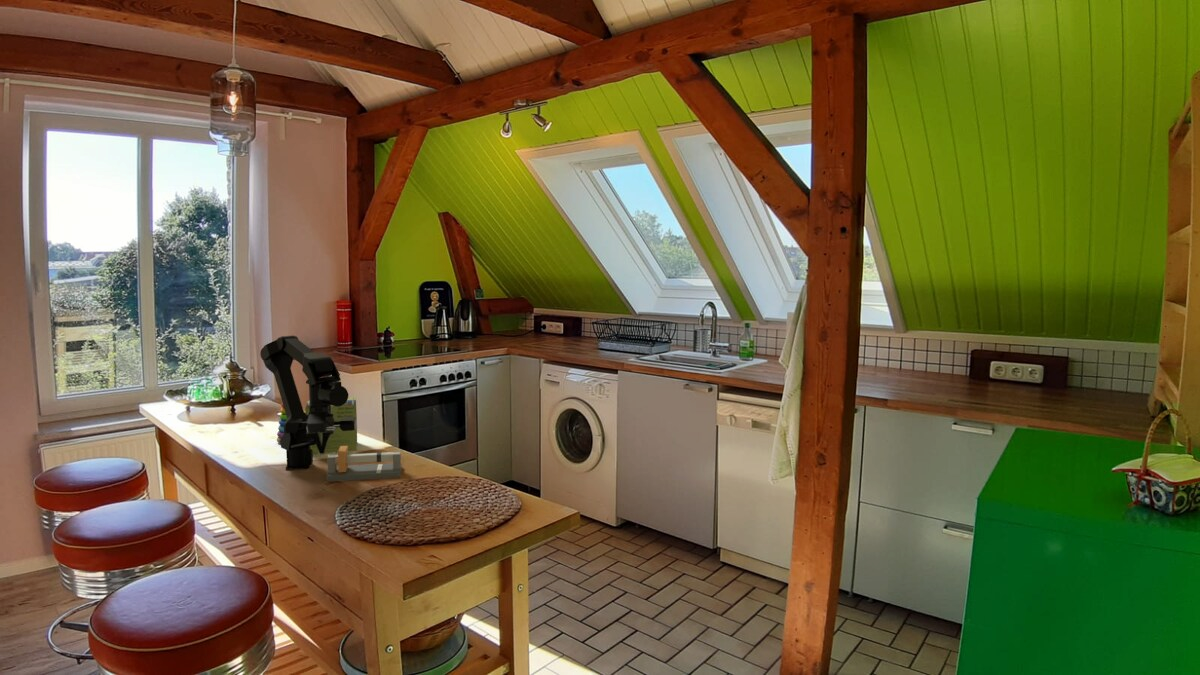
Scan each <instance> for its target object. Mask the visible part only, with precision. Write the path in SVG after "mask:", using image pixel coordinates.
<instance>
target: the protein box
mask: <svg viewBox="0 0 1200 675" xmlns="http://www.w3.org/2000/svg"><path fill="white" fill-rule="evenodd" d="M304 412H305V413H306V414H307V415H309V412H310V402H309V400H307V402H306V405H305V410H304ZM331 413H332V414H333V415H334V421H340V420H341V418H342V417H355V418H356V420H358V419H357V418H358V417H357V398H356V397H351V398H349V397H348V400H347V401H346V403H345V404H344V405H342V406H339V407H337V406H333V405H331ZM321 439H323V435H322V433H321ZM340 446H348V452H354V451H356V452H357V450H358V425H357V426H356V428H355V430H353V431H342V430H341V429H340V427H336V430H335V432H334V434H330V436H329V439H328V442H327V445H326V448H325V451H324V454H328V453H338V450H339V448H340ZM310 447H311V449H312V450H313V455H314V454H320V452H319V450H318V447H317V445H316V444H315V445H311V446H310Z"/></svg>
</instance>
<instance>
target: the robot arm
mask: <svg viewBox="0 0 1200 675" xmlns="http://www.w3.org/2000/svg"><path fill="white" fill-rule="evenodd" d="M259 354H260V358H261V360H262V361H263V363H264V366H265V368H266V369H268V370H269V371H270V372H271V373H272V374H273V376H274V379H275V382H276V385H277V389H278V392H279V396H280V399H281V403H282V402H283V406H284V409H285V412H286V416H287V420H286V423H285V424H284V435H283V436H282V438H281V440H280V443H279V445H280V448H281V449H283V450H286V453H285V454H286V466H285V470H288V471H290V470H303V469H304V470H306V469H310V467H311V465H313V463H314V454H313V450H312V449H311V447H310V446H311V445H315V444H316V445H317V447H318V450H319V452H320V453H319V454H320V455H324V454H325V453H324V451H325V448H326V445H327V442H328V439H329V436H330V434H334V432H335V430H336V427H340V429H341V430H342V431H353V430H355V428H356V426H357V427H358V422H357V420H358V419H357V420H356V418H355V417H342V418H341V420H340V421H334V415H333V414H332V413H331V405H333V406H337V407H339V406H342V405H344V404H345V403H346V401H347V400H348V398H349V392H348V390H347V388H345V386H342V382H341V376H340V375H341V374H340V371H339V370H338V368H337V367H336V364H335V361H333V359H332V357H331V356H329V355H327V354H324V353H317V352H315V351H313V350H312V349H311V348H310V347H308V346H307V345H306V344H304V343H303V342H302V341H301V340H299V338H298V336H297V335H293V334H292V335H283V336H279V337H277V339H275V340H273V341H272V342H269V343H266V344H265V345H263V347H262V348H261V349H260V353H259ZM294 361H296V362H298V363H299V364H300V365H301V366H302V367H301V368H302V369H301V371H302V372H303V374H304V375H305V376H306V378H307V379H306V381H305V384H306V385H307V384H308V394H309V395H308V396H309V397H308V398H309V400H308V401H309V402H310V412H309V415H307V414H306V413H305V410H304V407H303V404H302V401H301V398H300V395H299V391H298V387H297V384H296V381H295V378H294V375H293V372H292V368H291V367H292V365H293V362H294ZM321 433H322V435H323V439H321Z"/></svg>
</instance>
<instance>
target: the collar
mask: <svg viewBox="0 0 1200 675" xmlns="http://www.w3.org/2000/svg"><path fill="white" fill-rule="evenodd" d="M346 454H349V451H348V446H340V448H339V450H338V452H337V455H338V464H337V466H338V472H346V470H347V468H348V466H349V463H346Z"/></svg>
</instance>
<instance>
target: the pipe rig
mask: <svg viewBox="0 0 1200 675" xmlns="http://www.w3.org/2000/svg"><path fill="white" fill-rule="evenodd" d="M401 454H402V452H401V451H400V450H399V451H391V452H389V451H388V452H382V451H381V452H380V451H379V452H371V453H370V452H369V453H348V454H346V463H348V464H350V465H348V468H347V470H346V472H338V454H328V455H327V459H326V460H327V474H326V482H341V481H342V482H343V481H358V480H359V481H360V480H376V479H377V480H380V479H381V480H382V479H395V478H396V479H397V478H401V474H402V473H401V472H402V461H401V460H402V459H401V458H402V455H401ZM375 462H376V463H375ZM381 462H389V463H381ZM391 462H392V463H391ZM357 463H369V464H357ZM370 463H373V464H370ZM351 464H353V465H351Z"/></svg>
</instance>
